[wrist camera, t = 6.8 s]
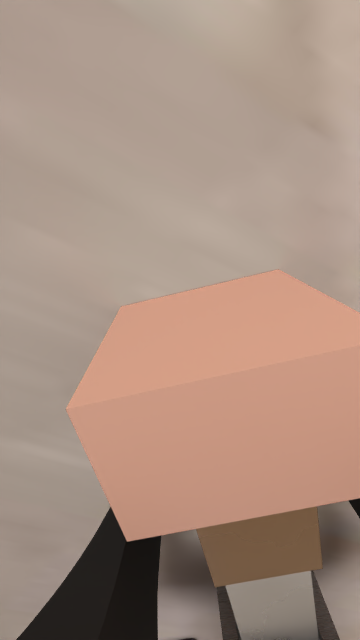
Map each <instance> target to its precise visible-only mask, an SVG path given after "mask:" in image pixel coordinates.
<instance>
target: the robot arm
mask: <svg viewBox="0 0 360 640" xmlns="http://www.w3.org/2000/svg"><path fill="white" fill-rule="evenodd" d="M348 501H349V502H350V504H351V505H352V507H353V509H354V510H355V512H356V513H357V515H358V516H359V518H360V498H358V499H353V500H348ZM160 545H161V535H160V536H155V537H150V538H144V539H139V540H134V541H128V542H127V540H126V538H125V536H124V534H123V532H122V530H121V527H120V525H119V523H118V521H117V519H116V517H115V514H114V512H113V510H112V508H111V507H110V509H109V511H108V512H107V514H106V516H105V518H104V519H103V521H102V523H101V525H100V527H99V528H98V530H97V532H96V533H95V535H94V537H93V538H92V540H91V542H90V543H89V545H88V546H87V548H86V549H85V551H84V553H83V554H82V556H81V557H80V559H79V560H78V562H77V563H76V564H75V566H74V567H73V569H72V570H71V572H70V573H69V574H68V576H67V577H66V579H65V580H64V581H63V583H62V584H61V585H60V587H59V588H58V589H57V591H56V592H55V593H54V595H53V596H52V597H51V598H50V600H49V601H48V602H47V603H46V605H45V606H44V607H43V608H42V610H41V611H40V612H39V613H38V615H37V616H36V617H35V618H34V620H33V621H32V622H31V623H30V624H29V626H28V627H27V628H26V629H25V630H24V632H23V633H22V634H21V635H20V636H19V637H18V638H17V639H16V640H158V626H157V591H158V572H159V558H160Z"/></svg>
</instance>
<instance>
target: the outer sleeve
mask: <svg viewBox="0 0 360 640" xmlns="http://www.w3.org/2000/svg"><path fill="white" fill-rule="evenodd" d="M311 578H312V586H313V595H314V603H315V612H316V621H317V629H318V638H319V640H340V639H339V636H338V634H337V631H336V629H335V626H334V624H333V621H332V619H331V616H330V613H329V611H328V608H327V606H326V603H325V601H324V598H323V596H322V593H321V590H320V588H319V585H318V583H317V580H316V578H315V575H314V573H313V570H311ZM217 594H218V603H219V611H220V620H221V628H222V636H223V640H242V639H241V636H240V633H239V629H238V626H237V623H236V619H235V616H234V613H233V609H232V606H231V603H230V599H229V596H228V593H227V589H226V586H220V587H217Z"/></svg>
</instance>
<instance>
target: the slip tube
mask: <svg viewBox="0 0 360 640" xmlns="http://www.w3.org/2000/svg"><path fill="white" fill-rule="evenodd" d="M196 530H197V533H198V536H199V540H200V543H201V546H202V549H203V552H204V555H205V558H206V561H207V564H208V567H209V571H210V574H211V577H212V580H213V583H214V586H215V587H220V586H226V589H227V593H228V596H229V599H230V603H231V606H232V609H233V613H234V616H235V619H236V623H237V626H238V629H239V633H240V636H241V639H242V640H319V638H318V629H317V621H316V612H315V603H314V595H313V586H312V578H311V570H317V569H323V567H322V556H321V545H320V534H319V523H318V512H317V506H315V507H310V508H305V509H299V510H294V511H289V512H283V513H278V514H273V515H267V516H262V517H257V518H251V519H246V520H241V521H235V522H230V523H225V524H219V525H214V526H209V527H203V528H198V529H196Z"/></svg>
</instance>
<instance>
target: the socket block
mask: <svg viewBox="0 0 360 640" xmlns="http://www.w3.org/2000/svg"><path fill="white" fill-rule="evenodd" d="M66 411H67V413H68V415H69V417H70V419H71V422H72V424H73V426H74V428H75V430H76V432H77V435H78V437H79V439H80V441H81V443H82V445H83V448H84V450H85V452H86V454H87V456H88V458H89V460H90V463H91V465H92V467H93V469H94V471H95V473H96V476H97V478H98V480H99V482H100V484H101V486H102V489H103V491H104V493H105V495H106V497H107V499H108V502H109V504H110V506H111V508H112V510H113V512H114V514H115V517H116V519H117V521H118V523H119V525H120V527H121V530H122V532H123V534H124V536H125V538H126V540H127V542H128V541H134V540H139V539H144V538H150V537H155V536H160V535H166V534H171V533H176V532H182V531H187V530H192V529H198V528H203V527H209V526H214V525H219V524H225V523H230V522H235V521H241V520H246V519H251V518H257V517H262V516H267V515H273V514H278V513H283V512H289V511H294V510H299V509H305V508H310V507H315V506H321V505H326V504H331V503H337V502H342V501H348V500H353V499H358V498H360V313H359V312H357V311H355V310H353V309H352V308H350V307H348V306H346V305H344V304H342V303H340V302H338V301H337V300H335V299H333V298H331V297H329V296H327V295H325V294H324V293H322V292H320V291H318V290H316V289H314V288H312V287H311V286H309V285H307V284H305V283H303V282H301V281H299V280H297V279H296V278H294V277H292V276H290V275H288V274H286V273H284V272H283V271H281V270H279V269H278V270H274V271H270V272H266V273H261V274H257V275H253V276H249V277H244V278H240V279H236V280H232V281H228V282H223V283H219V284H215V285H211V286H206V287H202V288H198V289H194V290H189V291H185V292H181V293H177V294H173V295H168V296H164V297H160V298H156V299H151V300H147V301H143V302H139V303H134V304H130V305H126V306H122V307H121V308H120V309H119V311H118V313H117V315H116V317H115V319H114V321H113V322H112V324H111V326H110V328H109V330H108V332H107V334H106V335H105V337H104V339H103V341H102V343H101V345H100V347H99V348H98V350H97V352H96V354H95V356H94V358H93V360H92V361H91V363H90V365H89V367H88V369H87V371H86V373H85V374H84V376H83V378H82V380H81V382H80V384H79V386H78V387H77V389H76V391H75V393H74V395H73V397H72V399H71V400H70V402H69V404H68V406H67V408H66Z"/></svg>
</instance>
